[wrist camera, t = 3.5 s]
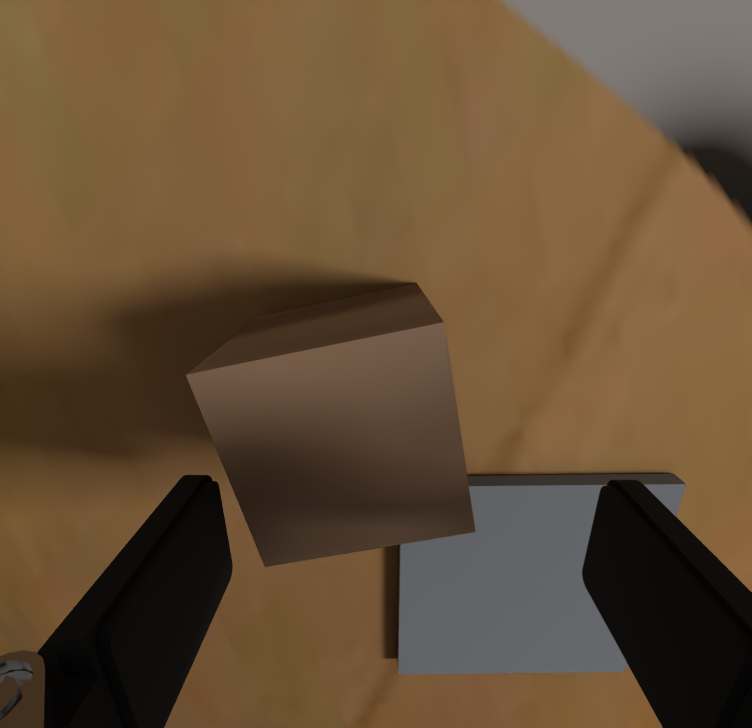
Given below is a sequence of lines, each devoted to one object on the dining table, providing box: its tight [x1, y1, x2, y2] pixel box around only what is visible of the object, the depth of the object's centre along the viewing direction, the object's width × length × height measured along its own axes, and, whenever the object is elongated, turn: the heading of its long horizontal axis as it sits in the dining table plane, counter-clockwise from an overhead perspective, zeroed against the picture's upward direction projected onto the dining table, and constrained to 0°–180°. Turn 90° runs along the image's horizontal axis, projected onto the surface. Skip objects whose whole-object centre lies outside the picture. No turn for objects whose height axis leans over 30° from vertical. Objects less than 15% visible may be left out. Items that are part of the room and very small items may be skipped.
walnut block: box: [186, 283, 476, 567], centre depth 10 cm, size 5×5×5 cm
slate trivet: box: [397, 474, 686, 674], centre depth 15 cm, size 10×10×1 cm
